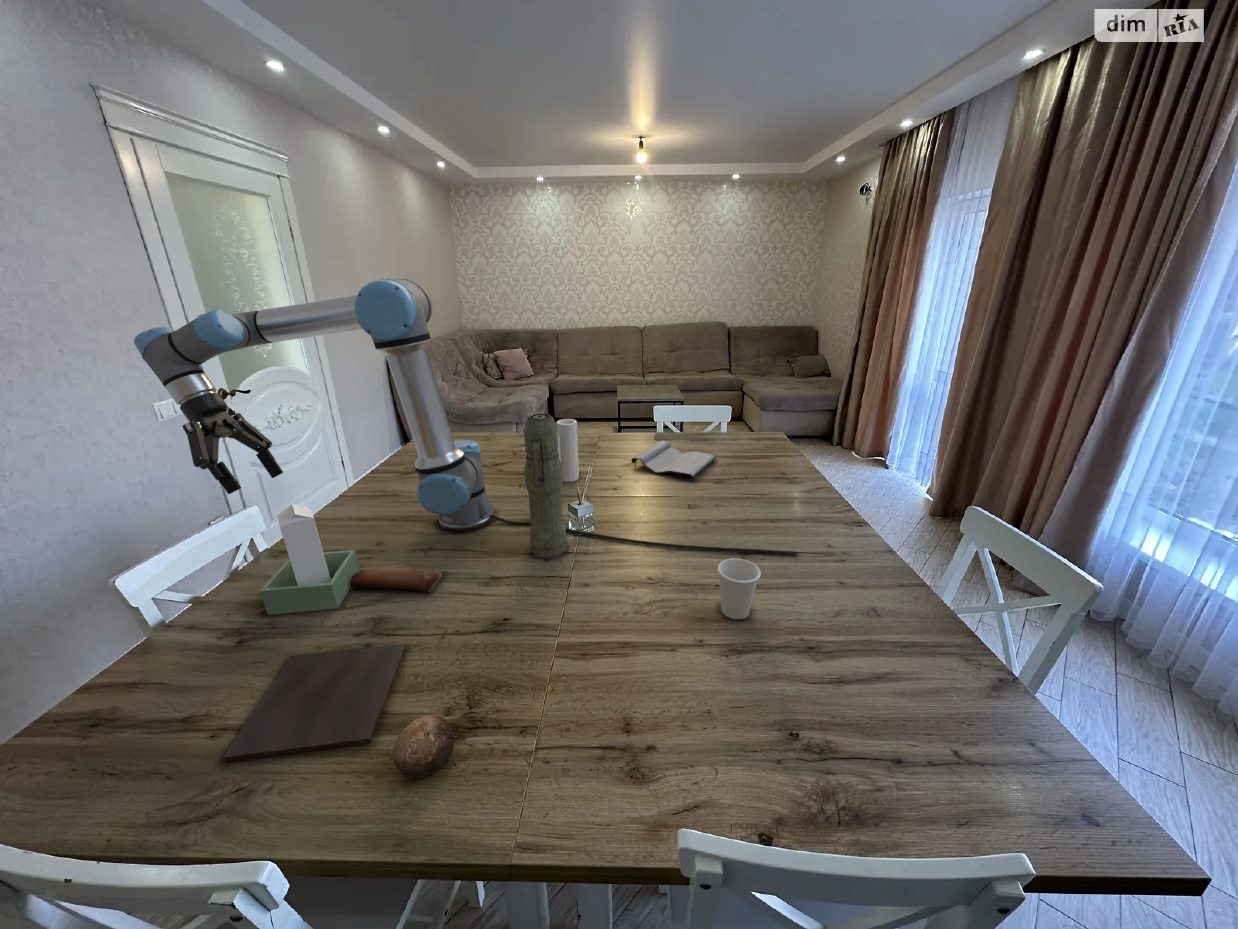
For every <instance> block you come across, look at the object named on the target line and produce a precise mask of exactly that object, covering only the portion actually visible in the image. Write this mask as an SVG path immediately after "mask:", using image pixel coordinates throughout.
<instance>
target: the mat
mask: <svg viewBox="0 0 1238 929" xmlns="http://www.w3.org/2000/svg"><path fill="white" fill-rule="evenodd" d="M717 458H718V457H717V455H716V454H714V453H713V454H712V453H707V452H702V451H690V452H681V451H680V450H678V449H677V448H675V447H674V446H672V444H671V443H670V442H669V441H667V440H660V441H658V442H657V443H655V444H653V445H652V446H650V447H649V448H646V449H645V450H644V451H642V452H641V453H639V454H637V455H636V456H634V457H631V464H634V466H635V468H637V461H641V462H642V464H643V465H644V466H645V467H647V469H649V470H651V472H654V473H657V474H664V473H673V474H680V475H687V476H691V477H692V479H694V478H695V477H696V476H697V475H698V474H699V473H701V472H702V471H703V470H704V469H706V467H707V466H709V465H710V464H711V463H712V462H714V461H715V460H716V459H717Z"/></svg>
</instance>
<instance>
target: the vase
mask: <svg viewBox="0 0 1238 929" xmlns="http://www.w3.org/2000/svg"><path fill="white" fill-rule="evenodd" d="M556 426H557V436H558V449H557V451H558V453H559V459H560V462H561V464H562V479H563V482H566V483H572V482H576V481H578V480H579V479H580V471H579V470H580V469H579V466H580V465H579V445H578V421H577V420H576V419H574V418H562V419H558V420H557V421H556Z"/></svg>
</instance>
